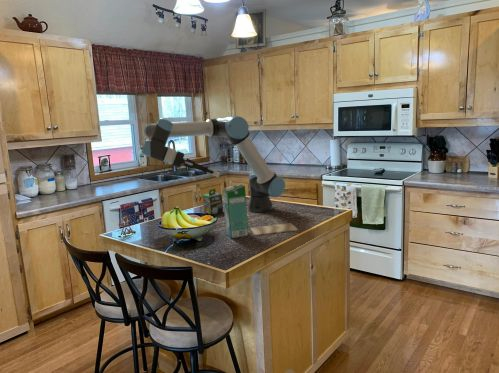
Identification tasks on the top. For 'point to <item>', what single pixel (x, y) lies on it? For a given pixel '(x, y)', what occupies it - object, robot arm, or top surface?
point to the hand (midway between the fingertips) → (219, 174)
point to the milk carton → (235, 211)
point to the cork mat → (273, 229)
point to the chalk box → (212, 202)
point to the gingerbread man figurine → (126, 225)
